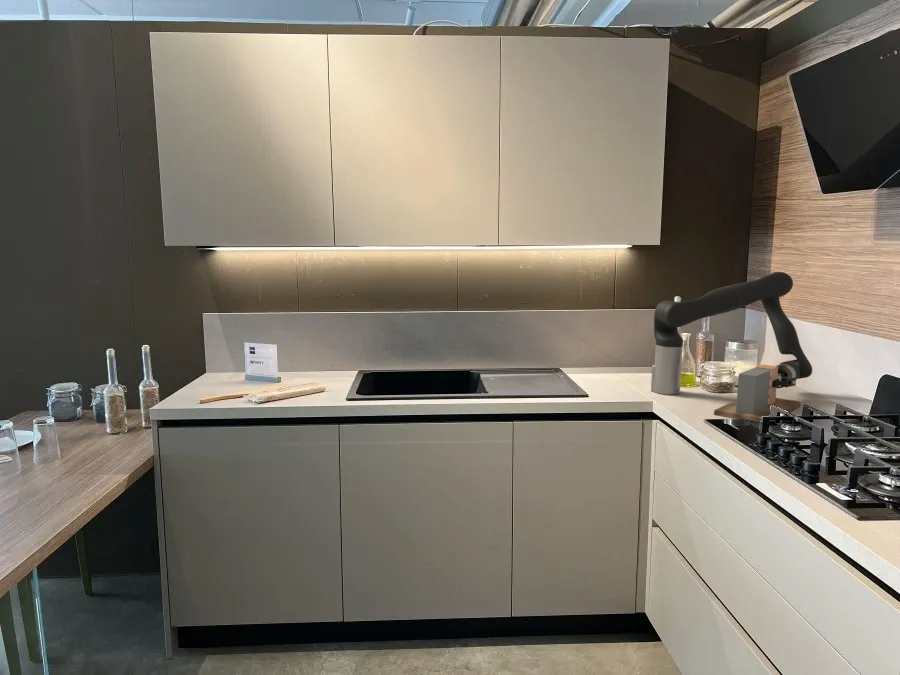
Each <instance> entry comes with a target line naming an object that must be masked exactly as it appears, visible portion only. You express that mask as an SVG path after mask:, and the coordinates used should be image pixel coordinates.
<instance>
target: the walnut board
mask: <svg viewBox="0 0 900 675" xmlns="http://www.w3.org/2000/svg"><path fill="white" fill-rule="evenodd" d="M801 404H802V402H801V401H799V400H798V401H797V400H791V399H786V398H780V397H776V399H775V403H773V404H771V405H774V406H776V407H779V408H781V409H783V410H786V411H788V412H790V413H792V412H793V411H794V410H797V409H799V408H800V407H801V406H802V405H801ZM736 405H737V399H735V400H733V401H731V402H729V403H726V404H724V405H722V406H720V407H718V408H716V409H714V410H713V415H714V416H719V417H724V418H730V419H734V418H738V419H737V420H739V419H749V420H754V421H757V422H760V420H761V417H762V416H769V415H770V406H771V405H768V407H767V408H765V409H763V410H761V411H759V412H757V413H755V414H753V415H752V414H746V413H741V412H736Z"/></svg>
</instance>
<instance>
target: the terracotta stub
mask: <svg viewBox="0 0 900 675" xmlns="http://www.w3.org/2000/svg"><path fill="white" fill-rule="evenodd" d="M755 368H760V369H767V370H772V374H771V379H770V380H771V385H770V395H769V404H768V405H771V404H773V403H775V399H776V398H777V397H776V396H777V388H776V387H775V388H773V387H772V382H773V381H774V380H776V379H777V375H778V366H776V365H768V364H759V365H757V366H755Z"/></svg>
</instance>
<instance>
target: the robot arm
mask: <svg viewBox="0 0 900 675" xmlns="http://www.w3.org/2000/svg"><path fill="white" fill-rule="evenodd" d="M793 280H794V279H792V277H791V276H790V275H789V274H788V273H786V272H783V271H782V272H781V271H776V272H771V273H769V274H766V275H764V276H762V277H760V278H758V279H755V280H751V281H743V282H739V283H734V284H730V285H725V286H721V287H718V288H715V289H712V290H710V291H708V292H707V293H705V294H704V295H702V296H700V297H698V298H696V299H691V300H686V301H675V300H674V301H672V300H663V301H660V302H659V303H658V304H657V305H656V307H655V308H654V309H655V310H654V315H653V336H654V338H655V349H654V350H655V353H654V356H655V357H654V364H653V365H652V367H651V383H650V392H654V393H657V394H661V395H678V394H680V393H681V382H682V381H681V380H682V362H683V349H684V347H683V344H684V339H683V338H682V337H681V335H680V333H679V330H678V328H681V327H684V326H686V325H690V324H691V323H693V322H696V321H698V320H701V319H704V318H710V317H714V316H718V315H722V314H726V313H728V312H730V313H731V312H733V311H735V310H739V309H741V308H744V307H746V306H749V305H751V304H753V303H755V302H758V301H760V302H761V303H762V305H763V306H762V307H763V308H764V311H765V313H766V314H767V317H768V320H769V321H770V324H771V326H772V327H771V328H772V329H773V333H774V337H775V340H776V344H777V348H778V350H779V353H780V354H781V355H791V356H794V357H795V359H792V360H786V361H783V362H780V363H779V364H777V365H775V366H778V375H777V379H776V380H774V381H773V382H772V387H773V388H775V387H776V389H783V388H790V387H795V386H797V380H801V379H806V378H809V377H810V376H812V374H813V366H812V364H811V362H810V361H809V359H808V358H807V356H806V355H805V353H804V351H803V349H802V346H801V343H800V339H799V337H798V332H797V329H796V327H795V325H794V323H792V321H791V320H790V318H789V317H788V316H787V315H786V313H785V311H784V310H783V308H782V305H781V301H780V298H781V297H785V296H786V295H787V294H789V293H790V292H791V290H792V289H793V285H794V281H793Z"/></svg>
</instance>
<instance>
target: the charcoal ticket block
mask: <svg viewBox="0 0 900 675" xmlns="http://www.w3.org/2000/svg"><path fill="white" fill-rule="evenodd" d="M771 374H772V370H767V369H760V368H756V367H753V368H750V369H748V370H745V371H743V372H739V373H738V382H737V392H736V400H737V405H736V412H741V413H746V414H752V415H753V414H755V413H757V412H759V411H761V410H763V409H765V408H767V407H768V404H769V395H770V385H771V380H770V379H771Z"/></svg>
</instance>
